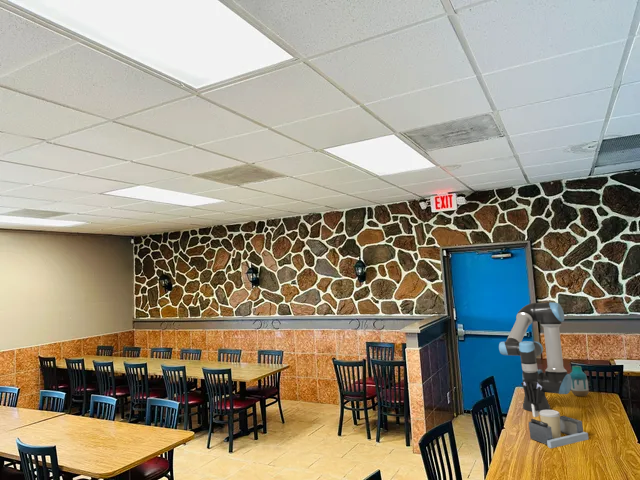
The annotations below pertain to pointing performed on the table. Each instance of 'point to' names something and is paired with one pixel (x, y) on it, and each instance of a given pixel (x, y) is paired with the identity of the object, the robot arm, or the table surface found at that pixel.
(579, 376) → the vase
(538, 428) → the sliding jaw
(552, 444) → the back rail
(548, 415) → the coffee cup
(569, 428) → the block
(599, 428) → the table surface
